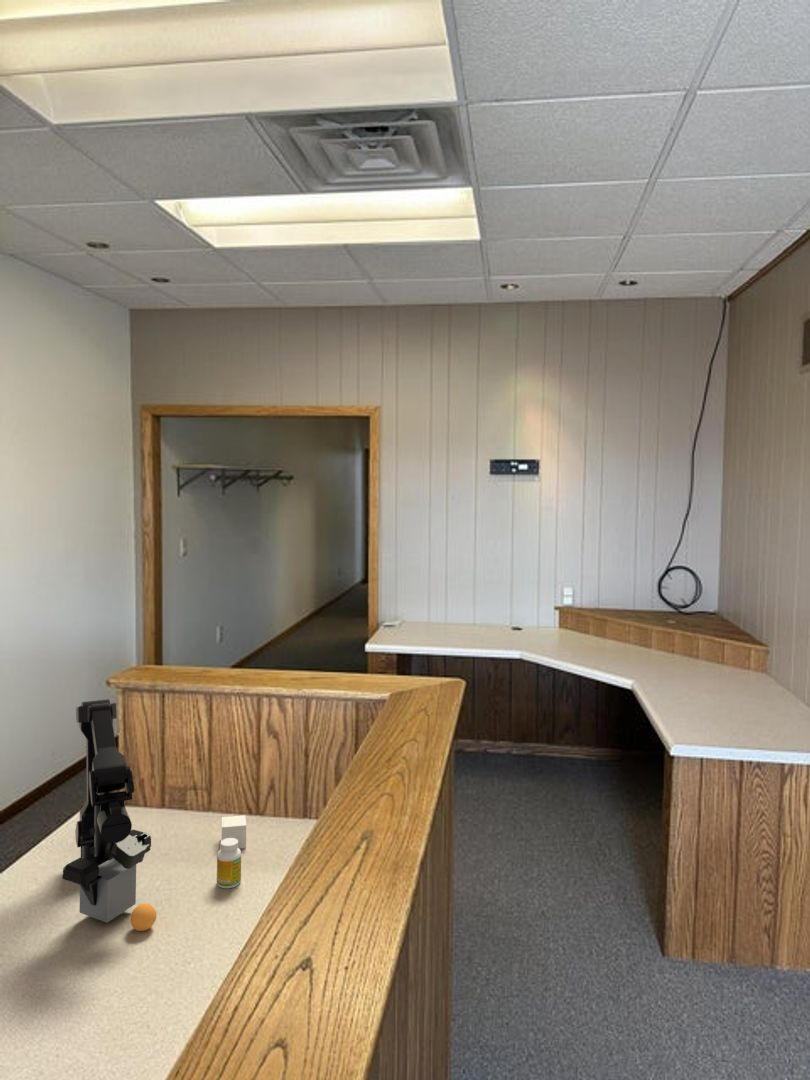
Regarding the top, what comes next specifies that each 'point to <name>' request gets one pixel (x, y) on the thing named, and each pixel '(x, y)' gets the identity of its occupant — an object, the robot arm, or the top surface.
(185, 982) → the top surface
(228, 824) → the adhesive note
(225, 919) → the top surface
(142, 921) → the ball
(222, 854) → the supplement bottle
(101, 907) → the grey upright block
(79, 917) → the top surface
